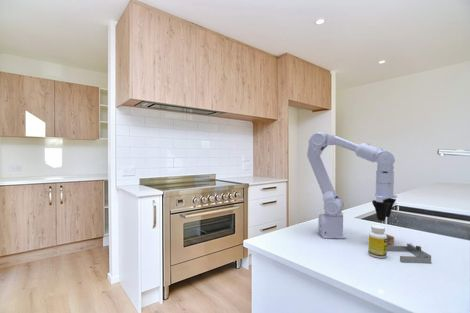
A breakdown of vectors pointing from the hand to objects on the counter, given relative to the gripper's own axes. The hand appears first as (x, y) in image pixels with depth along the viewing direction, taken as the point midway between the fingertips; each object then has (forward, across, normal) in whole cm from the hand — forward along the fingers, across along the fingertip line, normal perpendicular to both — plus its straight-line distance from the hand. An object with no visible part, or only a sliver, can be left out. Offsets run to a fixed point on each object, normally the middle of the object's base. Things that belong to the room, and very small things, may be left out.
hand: (383, 218), depth 92 cm
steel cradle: (+10, -7, -8) cm, 14 cm away
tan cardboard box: (+10, +1, 0) cm, 10 cm away
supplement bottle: (+10, -13, -1) cm, 16 cm away
